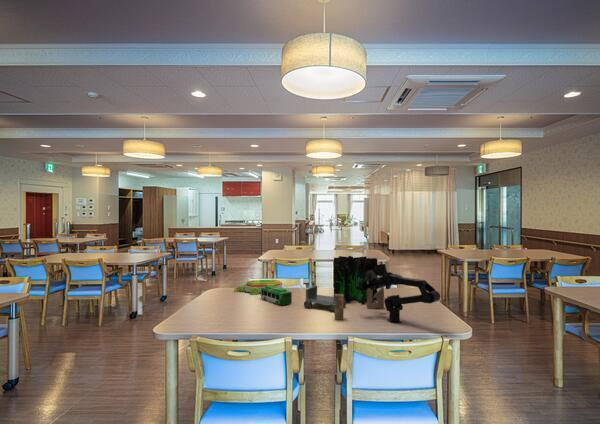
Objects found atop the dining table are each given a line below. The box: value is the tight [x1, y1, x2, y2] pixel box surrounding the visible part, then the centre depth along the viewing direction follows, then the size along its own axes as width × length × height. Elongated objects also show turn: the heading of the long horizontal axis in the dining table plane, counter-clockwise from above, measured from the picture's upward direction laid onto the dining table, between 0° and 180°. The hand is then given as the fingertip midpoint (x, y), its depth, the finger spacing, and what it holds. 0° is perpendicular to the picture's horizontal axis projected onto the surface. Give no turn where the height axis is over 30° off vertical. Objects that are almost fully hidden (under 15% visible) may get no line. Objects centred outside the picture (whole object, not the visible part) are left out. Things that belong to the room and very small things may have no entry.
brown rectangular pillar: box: [334, 294, 344, 321], centre depth 211 cm, size 5×5×14 cm
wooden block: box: [366, 281, 385, 310], centre depth 234 cm, size 4×11×18 cm, turn 84°
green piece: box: [233, 279, 283, 296], centre depth 287 cm, size 29×38×8 cm
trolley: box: [303, 285, 348, 313], centre depth 236 cm, size 23×17×12 cm
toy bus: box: [260, 286, 293, 306], centre depth 251 cm, size 11×27×10 cm, turn 32°
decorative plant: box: [333, 255, 378, 305], centre depth 259 cm, size 29×30×30 cm
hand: (360, 287), depth 225 cm, fingers open, 9 cm apart
